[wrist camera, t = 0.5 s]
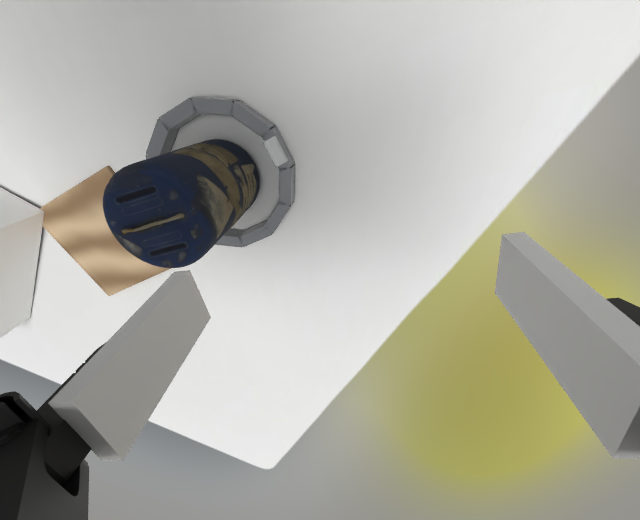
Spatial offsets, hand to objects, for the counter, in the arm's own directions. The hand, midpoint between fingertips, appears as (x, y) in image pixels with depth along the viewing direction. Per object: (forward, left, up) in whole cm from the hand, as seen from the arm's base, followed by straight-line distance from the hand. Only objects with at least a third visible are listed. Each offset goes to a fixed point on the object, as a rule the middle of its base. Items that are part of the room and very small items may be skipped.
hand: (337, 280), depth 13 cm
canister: (-5, -15, -28) cm, 32 cm away
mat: (-5, -37, -28) cm, 46 cm away
